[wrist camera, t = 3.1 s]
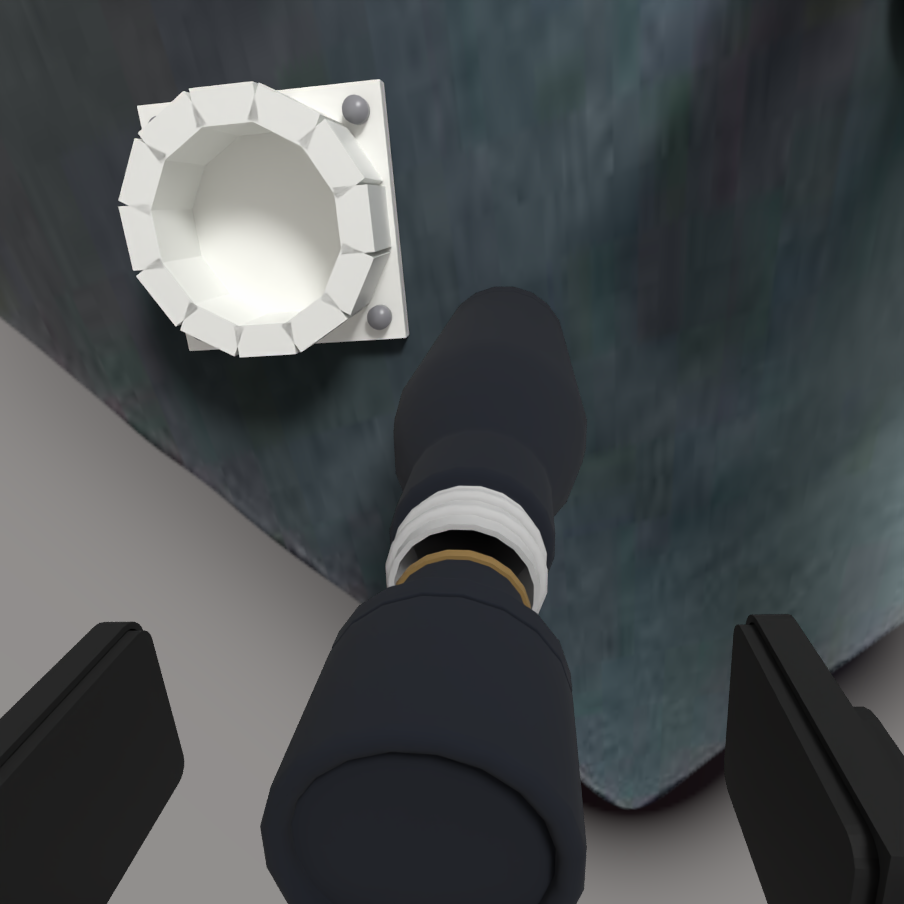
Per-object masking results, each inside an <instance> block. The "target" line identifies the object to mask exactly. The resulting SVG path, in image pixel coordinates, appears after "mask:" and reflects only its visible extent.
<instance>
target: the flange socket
mask: <svg viewBox="0 0 904 904" xmlns="http://www.w3.org/2000/svg"><path fill="white" fill-rule="evenodd" d="M189 91H190V93H188V92H185V91H183V92H182V93H181V94H180V95H179V96H178V97H176V98H175V99H174V100H173V101H172V102H169V103H160V104H151V105H141V106H137V108H138V112H139V117H140V122H141V127H142V130H141V131H139V132H138V134H139V135H140V137H141V138H142V139H143V140H142V139H136V138H135V139H134V143H133V147H132V150H131V154H130V158H129V162H128V166H127V170H126V174H125V177H124V181H123V185H122V189H121V193H120V197H119V201H121V202H123V203H125V204H127V205H129V206H121V207H119V211H120V215H121V220H122V224H123V228H124V233H125V237H126V241H127V246H128V250H129V254H130V258H131V263H132V267H133V271H135V270H143V271H142V272H141V273H139V274H138V275H137V276H136V277H137V278H138V279H139V281H140V282H141V283H142V284H143V286H144V287H145V288H146V290H147V291H148V292H149V293H150V295H151V296H152V297H153V298H154V300H155V301H156V302H157V303H158V305H159V306H160V307H161V309H162V310H163V311H164V312H165V314H166V315H167V316H168V317H169V319H170V320H171V321H172V323H173V324H174V325H175V326H178V325H181V324H182V326H181V331H183V332H185V333H186V337H187V342H188V347H189V351H198V350H215V349H220V350H222V351H224V352H226V353H228V354H230V355H232V356H236V355H238V354H239V357H256V356H274V355H291V354H297V353H299V352H302V351H304V350H305V349H307V348H308V347H310V346H312V345H313V344H315V343H330V342H347V341H363V340H380V339H396V338H406V337H407V336H408V335H409V328H408V318H407V308H406V298H405V288H404V278H403V268H402V258H401V248H400V238H399V228H398V219H397V209H396V199H395V189H394V179H393V169H392V159H391V149H390V139H389V129H388V119H387V109H386V99H385V89H384V83H383V82H382V81H381V80H380V79H378V80H369V81H360V82H350V83H341V84H332V85H323V86H314V87H305V88H296V89H287V90H278V91H276V90H274V89H272V88H270V87H267V86H265V85H263V84H261V83H258V84H257V83H255V82H253V81H251V82H242V83H233V84H224V85H215V86H207V87H198V88H189Z"/></svg>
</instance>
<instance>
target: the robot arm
mask: <svg viewBox="0 0 904 904" xmlns="http://www.w3.org/2000/svg"><path fill="white" fill-rule="evenodd" d="M183 769H184V756H183V752H182V748H181V744H180V741H179V737H178V733H177V730H176V726H175V722H174V718H173V715H172V711H171V707H170V703H169V700H168V696H167V692H166V689H165V685H164V681H163V678H162V674H161V670H160V666H159V663H158V659H157V656H156V651H155V648H154V644H153V640H152V637H151V635H150V634H149V633H148V632H147V631H143V629H142V627H141V626H140V625H139V624H138V623H136V622H103V623H99V624H97V625H96V626H95V627H93V628H92V629H91V630H90V631H89V633H87V634H86V635H85V636H84V637H83V638H82V639H81V640H80V641H79V642H78V643H77V644H76V645H75V646H74V647H73V648H72V649H71V650H70V651H69V652H68V653H67V654H66V655H65V656H64V657H63V658H62V659H61V660H60V661H59V662H58V663H57V664H56V665H55V666H54V667H53V668H52V669H51V670H50V671H49V672H48V673H46V675H44V676H43V677H42V678H41V680H40V681H38V682H37V683H36V684H35V685H34V686H33V687H32V688H31V689H30V690H29V691H28V692H27V693H26V694H25V695H24V696H23V697H22V698H21V699H20V700H19V701H18V702H17V703H16V704H15V705H14V706H13V707H12V708H11V709H10V710H9V711H8V712H7V713H6V714H5V715H4V716H3V717H2V718H1V719H0V904H107V902H108V901H109V899H110V897H111V896H112V894H113V892H114V891H115V889H116V887H117V886H118V884H119V882H120V881H121V879H122V877H123V876H124V874H125V872H126V871H127V869H128V867H129V866H130V864H131V862H132V861H133V859H134V857H135V855H136V854H137V852H138V850H139V849H140V847H141V845H142V844H143V842H144V840H145V839H146V837H147V835H148V834H149V832H150V830H151V829H152V827H153V825H154V823H155V822H156V820H157V819H158V817H159V815H160V814H161V812H162V810H163V808H164V807H165V805H166V803H167V802H168V800H169V798H170V797H171V795H172V793H173V792H174V790H175V788H176V787H177V785H178V783H179V781H180V779H181V776H182V774H183ZM724 772H725V780H726V785H727V789H728V792H729V795H730V798H731V801H732V804H733V807H734V809H735V812H736V815H737V818H738V821H739V823H740V826H741V829H742V832H743V835H744V838H745V841H746V843H747V846H748V849H749V852H750V855H751V858H752V860H753V863H754V866H755V869H756V872H757V874H758V877H759V880H760V883H761V886H762V889H763V891H764V894H765V897H766V900H767V903H768V904H904V755H903V754H902V753H901V751H900V750H899V748H898V747H897V745H896V744H895V742H894V741H893V740H892V738H891V737H890V735H889V734H888V732H887V731H886V730H885V728H884V727H883V725H882V724H881V722H880V721H879V720H878V718H877V717H876V716H875V715H874V714H873V713H872V712H871V711H870V710H869V709H867V708H865V707H853V706H852V705H851V703H850V702H849V700H848V699H847V697H846V696H845V694H844V692H843V691H842V690H841V688H840V687H839V685H838V684H837V682H836V681H835V679H834V677H833V676H832V674H831V673H830V671H829V670H828V668H827V667H826V665H825V664H824V662H823V661H822V659H821V658H820V656H819V655H818V653H817V652H816V650H815V649H814V647H813V646H812V644H811V643H810V641H809V640H808V638H807V637H806V635H805V634H804V632H803V631H802V629H801V628H800V626H799V625H798V623H797V622H796V620H795V619H794V618H793V616H792V615H789V614H761V615H750V616H748V618H747V621H746V625H736V626H735V629H734V635H733V649H732V663H731V677H730V691H729V704H728V718H727V732H726V746H725V760H724Z"/></svg>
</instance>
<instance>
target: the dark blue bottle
mask: <svg viewBox="0 0 904 904" xmlns="http://www.w3.org/2000/svg"><path fill="white" fill-rule="evenodd" d="M586 428H587V419H586V415H585V412H584V408H583V404H582V401H581V397H580V393H579V390H578V386H577V383H576V379H575V375H574V372H573V368H572V365H571V361H570V357H569V354H568V350H567V346H566V343H565V339H564V336H563V332H562V329H561V326H560V322H559V320H558V318H557V317H556V315H555V314H554V312H553V311H552V310H551V308H550V307H549V305H548V304H547V303H545V302H544V301H543V300H541V299H540V298H539V297H537V296H536V295H535V294H533V293H531V292H528V291H525V290H522V289H519V288H516V287H492V288H489V289H486V290H484V291H481V292H478V293H475V294H474V295H473V296H471V297H470V298H469V299H467V300H466V301H465V302H463V303H462V304H461V305H460V306H459V307H458V309H457V310H456V312H455V313H454V314H453V316H452V317H451V319H450V320H449V322H448V323H447V325H446V326H445V328H444V329H443V331H442V332H441V334H440V335H439V337H438V338H437V340H436V341H435V343H434V344H433V346H432V347H431V349H430V350H429V352H428V353H427V355H426V356H425V358H424V359H423V361H422V362H421V364H420V365H419V367H418V368H417V370H416V371H415V373H414V374H413V376H412V377H411V379H410V380H409V382H408V383H407V385H406V386H405V388H404V389H403V391H402V394H401V398H400V402H399V405H398V409H397V412H396V416H395V422H394V449H395V468H396V475H397V478H398V480H399V483H400V485H401V488H402V491H403V493H402V495H401V497H400V500H399V502H398V504H397V507H396V510H395V513H394V517H393V520H392V523H391V527H390V543H391V548H390V551H389V555H388V558H387V561H386V581H387V588H386V589H385V590H383V591H382V592H380V593H378V594H377V595H375V596H374V597H372V598H371V599H369V600H367V601H366V602H364V603H363V604H361V605H359V606H358V608H357V609H356V610H355V612H354V613H353V614H352V615H351V617H350V618H349V619H348V621H347V622H346V623H345V625H344V626H343V627H342V628H341V630H340V631H339V633H338V635H337V637H336V640H335V642H334V644H333V646H332V650H331V651H330V653H329V656H328V658H327V660H326V662H325V665H324V667H323V669H322V671H321V674H320V676H319V678H318V681H317V683H316V685H315V687H314V690H313V692H312V694H311V696H310V699H309V701H308V703H307V706H306V708H305V710H304V712H303V715H302V717H301V719H300V721H299V724H298V726H297V728H296V731H295V733H294V735H293V738H292V740H291V742H290V744H289V747H288V749H287V751H286V753H285V756H284V758H283V760H282V762H281V765H280V767H279V769H278V772H277V774H276V776H275V778H274V781H273V783H272V785H271V788H270V792H269V795H268V799H267V803H266V807H265V811H264V814H263V818H262V822H261V826H260V827H261V834H262V840H263V846H264V853H265V859H266V865H267V868H268V870H269V872H270V873H271V875H272V877H273V878H274V880H275V882H276V884H277V886H278V887H279V889H280V891H281V892H282V894H283V896H284V898H285V900H286V901H287V903H288V904H576V903H577V901H578V899H579V898H580V896H581V894H582V892H583V890H584V880H585V864H586V848H587V846H586V836H585V825H584V815H583V804H582V793H581V782H580V771H579V760H578V749H577V738H576V728H575V717H574V706H573V696H572V684H571V673H570V670H569V668H568V665H567V662H566V659H565V656H564V653H563V650H562V647H561V644H560V642H559V640H558V639H557V638H556V636H555V635H554V634H553V633H552V631H551V630H550V629H549V628H548V626H547V625H546V624H545V623H544V621H543V620H542V619H541V618H540V616H539V615H538V613H539V611H540V608H541V606H542V604H543V601H544V599H545V596H546V594H547V576H548V572H549V569H550V567H551V564H552V562H553V560H554V553H555V526H554V516H555V515H556V514H557V512H558V511H559V510H560V509H561V508H562V507H563V505H564V504H565V503H566V502H567V499H568V497H569V494H570V492H571V489H572V487H573V484H574V482H575V480H576V477H577V475H578V472H579V469H580V467H581V464H582V462H583V457H584V453H585V449H586Z"/></svg>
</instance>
